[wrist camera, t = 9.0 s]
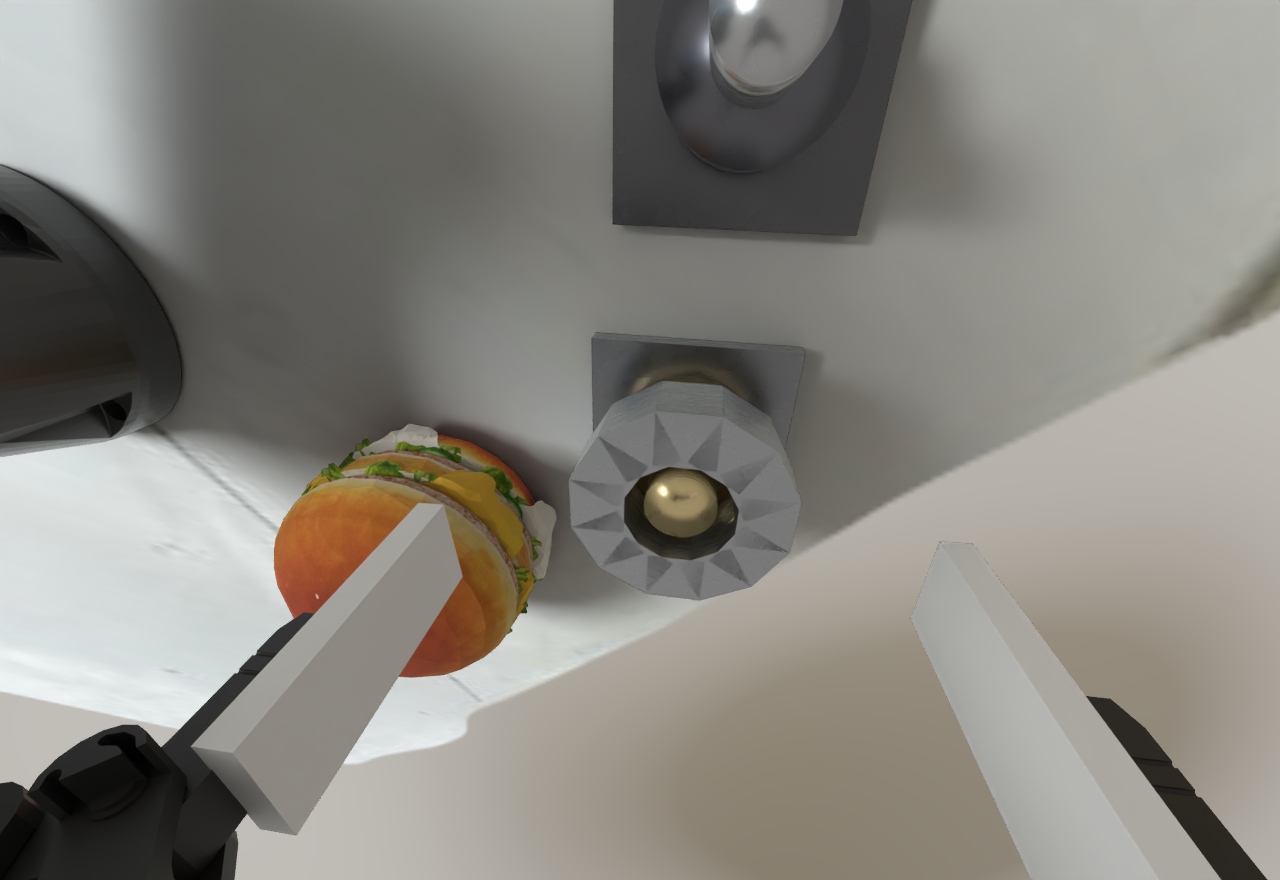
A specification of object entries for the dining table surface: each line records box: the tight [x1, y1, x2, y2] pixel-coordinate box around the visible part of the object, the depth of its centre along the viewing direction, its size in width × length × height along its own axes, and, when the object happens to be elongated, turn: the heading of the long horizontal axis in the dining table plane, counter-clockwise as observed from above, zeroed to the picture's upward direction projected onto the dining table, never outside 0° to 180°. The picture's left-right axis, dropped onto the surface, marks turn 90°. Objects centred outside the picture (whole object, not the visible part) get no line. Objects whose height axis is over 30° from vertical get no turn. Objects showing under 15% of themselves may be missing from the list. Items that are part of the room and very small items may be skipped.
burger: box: [274, 424, 557, 678], centre depth 25 cm, size 13×14×10 cm
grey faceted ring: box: [569, 381, 802, 600], centre depth 20 cm, size 9×9×3 cm
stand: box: [613, 0, 912, 236], centre depth 14 cm, size 10×10×9 cm
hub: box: [592, 332, 805, 537], centre depth 22 cm, size 10×10×7 cm
